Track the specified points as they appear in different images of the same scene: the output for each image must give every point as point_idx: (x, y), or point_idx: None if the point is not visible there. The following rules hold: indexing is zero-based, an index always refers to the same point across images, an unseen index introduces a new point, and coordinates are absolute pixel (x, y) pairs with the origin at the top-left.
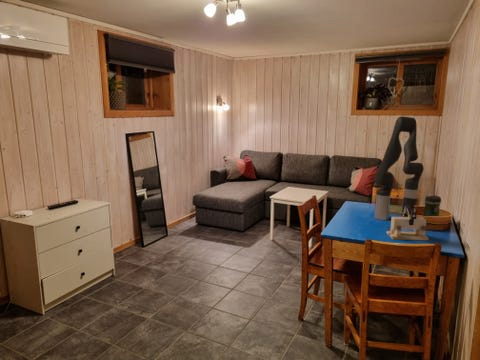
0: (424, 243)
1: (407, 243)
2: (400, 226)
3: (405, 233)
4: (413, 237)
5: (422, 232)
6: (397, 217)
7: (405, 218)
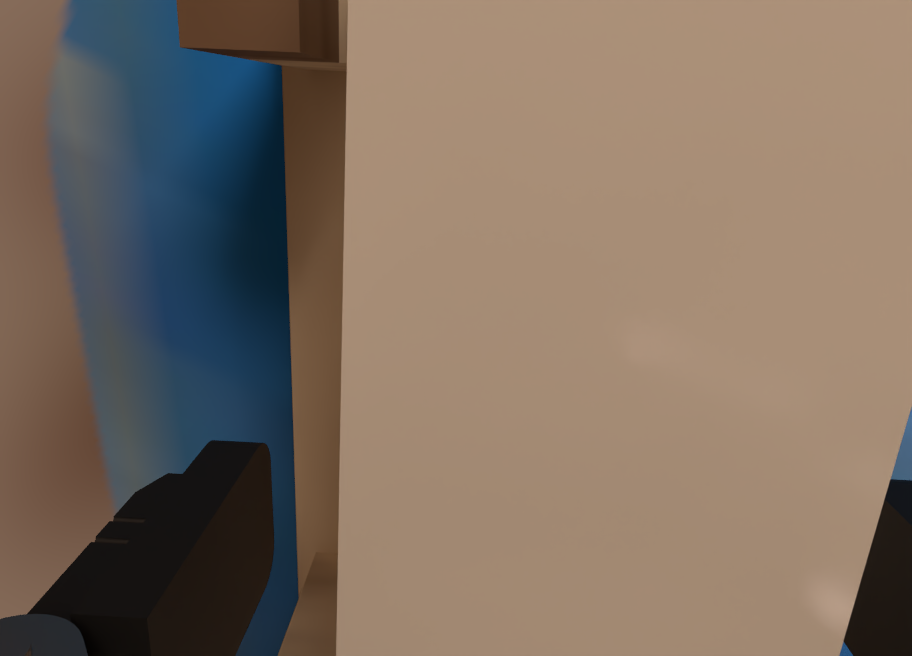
0: (126, 486)
1: (63, 135)
2: (178, 15)
3: None
4: (295, 390)
5: (287, 648)
6: (811, 56)
7: (533, 498)
